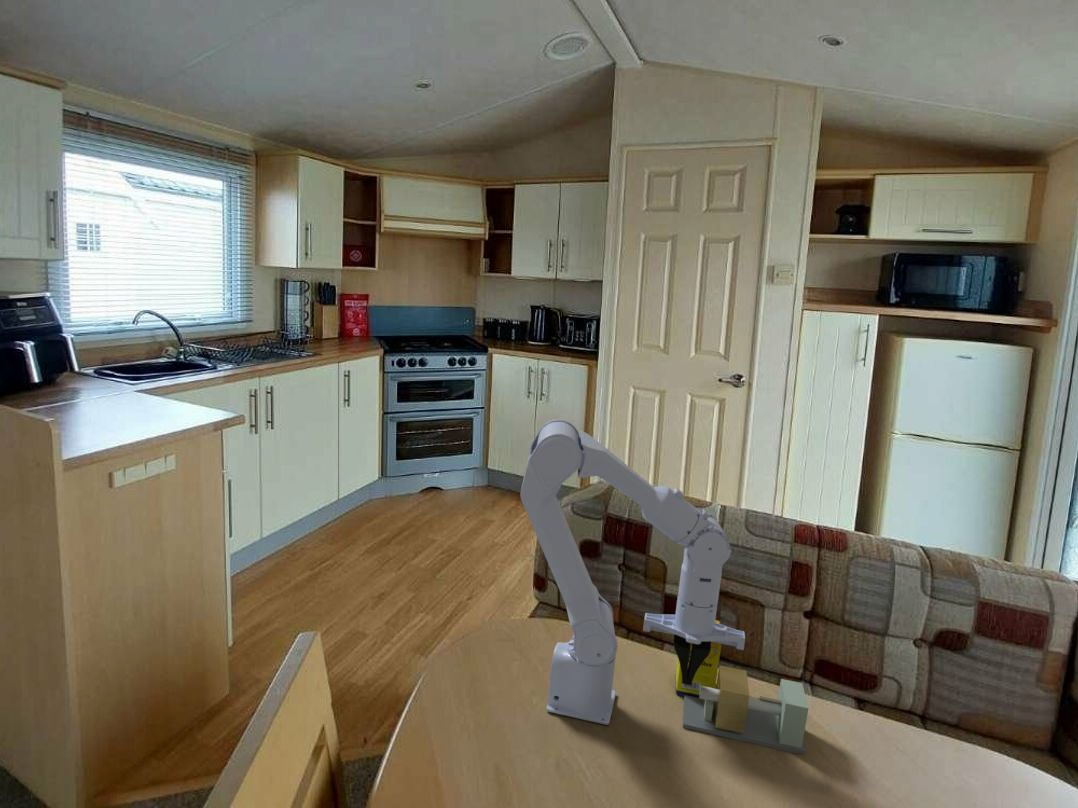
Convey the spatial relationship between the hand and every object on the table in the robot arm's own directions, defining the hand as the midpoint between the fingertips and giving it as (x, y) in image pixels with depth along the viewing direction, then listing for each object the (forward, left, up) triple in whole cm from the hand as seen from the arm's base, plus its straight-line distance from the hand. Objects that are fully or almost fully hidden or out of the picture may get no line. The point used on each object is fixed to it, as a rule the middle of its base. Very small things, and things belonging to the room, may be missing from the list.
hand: (686, 680), depth 98 cm
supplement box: (+2, +7, -6) cm, 9 cm away
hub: (+7, 0, -5) cm, 9 cm away
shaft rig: (+9, 0, -5) cm, 10 cm away
